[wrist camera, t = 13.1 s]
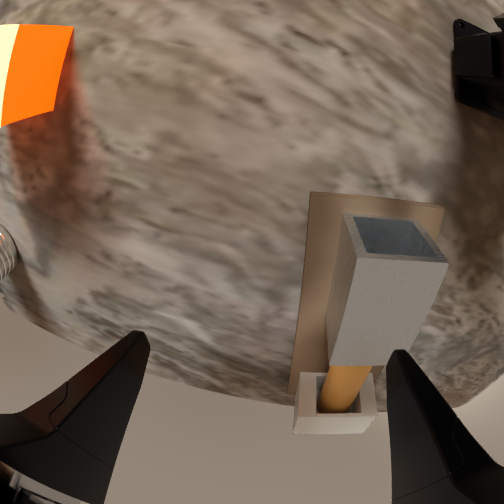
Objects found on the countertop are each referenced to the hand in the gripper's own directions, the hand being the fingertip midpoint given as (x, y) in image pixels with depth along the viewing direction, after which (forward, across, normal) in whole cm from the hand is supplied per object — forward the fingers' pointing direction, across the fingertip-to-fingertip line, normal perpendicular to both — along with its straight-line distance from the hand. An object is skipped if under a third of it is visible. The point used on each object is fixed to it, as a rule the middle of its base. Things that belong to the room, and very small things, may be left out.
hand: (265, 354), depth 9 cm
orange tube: (+10, -7, +14) cm, 18 cm away
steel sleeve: (+12, -7, +4) cm, 14 cm away
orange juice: (+12, +21, -15) cm, 28 cm away
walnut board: (+12, -6, +11) cm, 17 cm away
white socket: (+12, -6, +20) cm, 24 cm away
